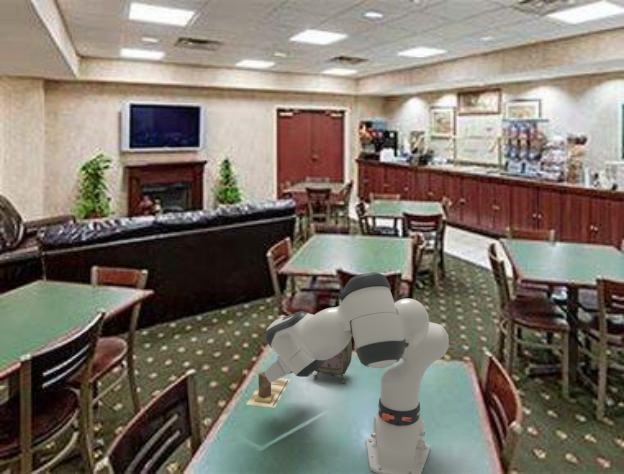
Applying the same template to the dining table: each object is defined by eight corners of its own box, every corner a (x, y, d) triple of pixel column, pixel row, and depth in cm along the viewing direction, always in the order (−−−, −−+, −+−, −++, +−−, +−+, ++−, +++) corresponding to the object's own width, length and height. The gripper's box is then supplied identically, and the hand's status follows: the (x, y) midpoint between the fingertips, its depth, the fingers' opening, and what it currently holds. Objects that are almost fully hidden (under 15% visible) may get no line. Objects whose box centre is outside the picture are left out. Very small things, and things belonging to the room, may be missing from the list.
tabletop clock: (309, 380, 197) (310, 317, 193) (316, 370, 206) (317, 309, 201) (347, 386, 193) (348, 321, 188) (352, 375, 201) (354, 313, 197)
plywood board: (274, 412, 174) (274, 408, 173) (245, 408, 176) (245, 404, 175) (290, 382, 195) (290, 379, 195) (265, 380, 197) (265, 376, 197)
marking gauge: (275, 395, 182) (274, 371, 180) (270, 403, 176) (270, 378, 175) (259, 393, 183) (259, 369, 181) (254, 401, 178) (254, 376, 176)
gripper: (319, 337, 172) (297, 357, 180) (275, 356, 157) (253, 376, 165) (329, 354, 170) (306, 373, 178) (285, 374, 155) (263, 394, 163)
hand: (280, 375), depth 172 cm, fingers open, 8 cm apart
